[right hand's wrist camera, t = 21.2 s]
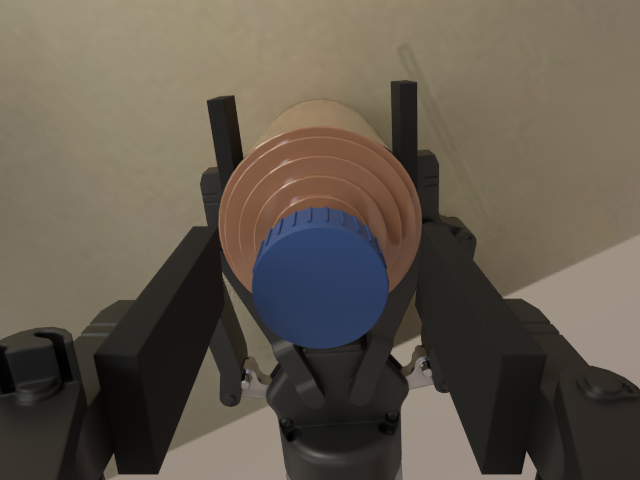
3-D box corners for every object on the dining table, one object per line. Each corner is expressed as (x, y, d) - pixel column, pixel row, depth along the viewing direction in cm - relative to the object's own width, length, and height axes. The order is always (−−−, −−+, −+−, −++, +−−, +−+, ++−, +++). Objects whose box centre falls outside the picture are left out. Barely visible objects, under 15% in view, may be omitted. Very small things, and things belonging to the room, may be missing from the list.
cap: (308, 340, 15) (307, 372, 14) (231, 253, 14) (219, 277, 13) (406, 276, 15) (418, 304, 13) (334, 179, 13) (335, 195, 12)
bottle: (379, 95, 28) (459, 137, 12) (381, 216, 31) (448, 382, 15) (252, 104, 28) (163, 157, 12) (266, 223, 31) (209, 395, 15)
